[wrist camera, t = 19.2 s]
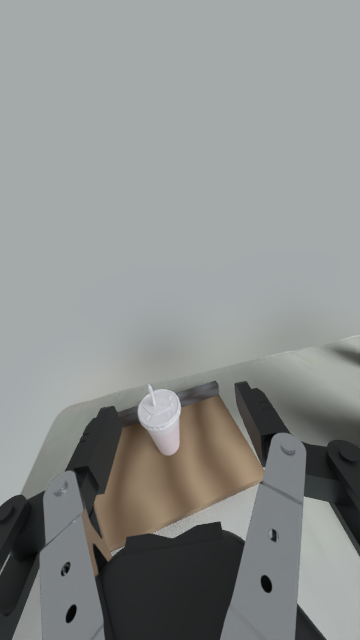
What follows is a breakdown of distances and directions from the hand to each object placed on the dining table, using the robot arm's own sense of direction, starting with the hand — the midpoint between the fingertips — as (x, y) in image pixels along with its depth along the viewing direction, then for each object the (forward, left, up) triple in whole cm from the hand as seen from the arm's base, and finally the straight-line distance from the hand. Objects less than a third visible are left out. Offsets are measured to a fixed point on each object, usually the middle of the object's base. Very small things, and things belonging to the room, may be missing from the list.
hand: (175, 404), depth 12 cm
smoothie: (+2, -11, -22) cm, 25 cm away
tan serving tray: (+1, -10, -24) cm, 26 cm away
